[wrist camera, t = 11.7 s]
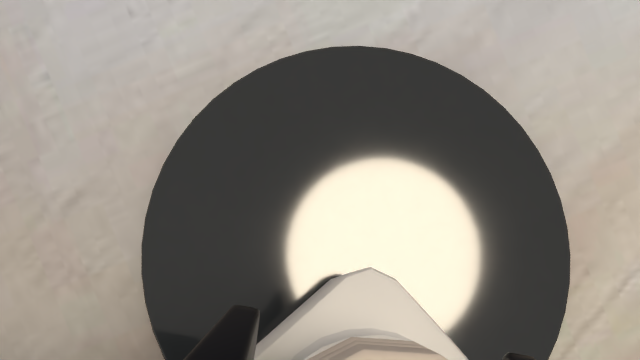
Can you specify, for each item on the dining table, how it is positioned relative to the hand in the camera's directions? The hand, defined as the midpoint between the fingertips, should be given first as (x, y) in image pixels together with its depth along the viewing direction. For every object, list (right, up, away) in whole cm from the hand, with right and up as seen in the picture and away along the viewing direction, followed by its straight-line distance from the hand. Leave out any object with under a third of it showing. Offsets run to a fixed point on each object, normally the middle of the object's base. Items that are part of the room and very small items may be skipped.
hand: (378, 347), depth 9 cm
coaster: (0, 0, +8) cm, 8 cm away
